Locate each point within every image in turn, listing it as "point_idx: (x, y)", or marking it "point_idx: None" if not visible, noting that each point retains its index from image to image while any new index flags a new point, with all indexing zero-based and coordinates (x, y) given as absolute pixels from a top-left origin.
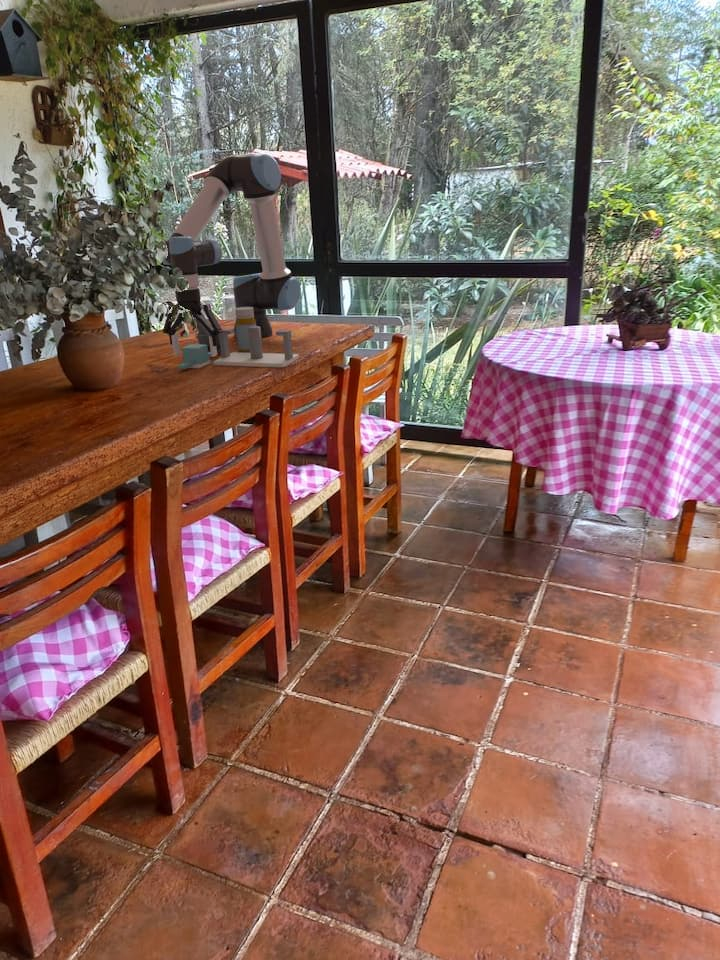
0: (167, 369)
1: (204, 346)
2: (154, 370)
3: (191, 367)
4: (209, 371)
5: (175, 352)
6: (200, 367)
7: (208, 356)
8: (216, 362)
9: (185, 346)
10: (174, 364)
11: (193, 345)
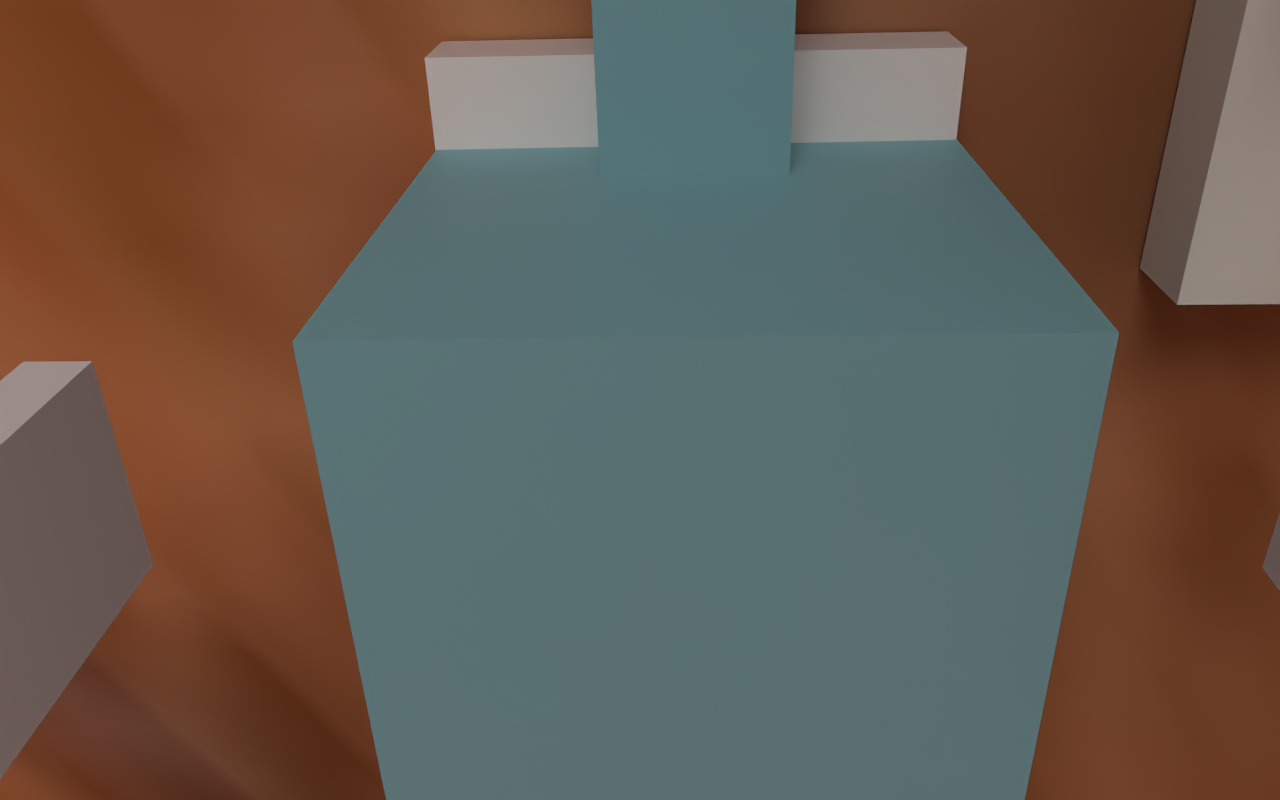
0: (295, 705)
1: (1066, 527)
2: (118, 781)
3: None
4: (1207, 735)
5: (109, 621)
6: None
7: (984, 176)
8: (1246, 292)
9: (374, 702)
10: (102, 343)
11: (571, 535)
